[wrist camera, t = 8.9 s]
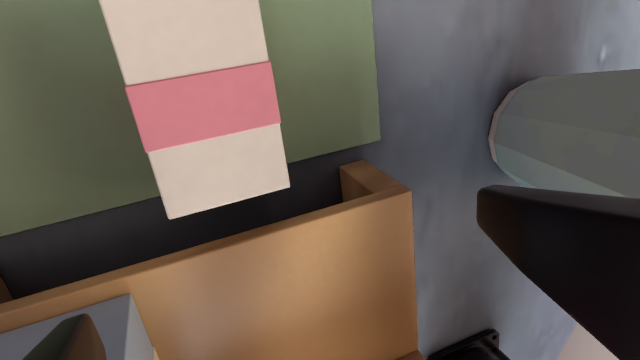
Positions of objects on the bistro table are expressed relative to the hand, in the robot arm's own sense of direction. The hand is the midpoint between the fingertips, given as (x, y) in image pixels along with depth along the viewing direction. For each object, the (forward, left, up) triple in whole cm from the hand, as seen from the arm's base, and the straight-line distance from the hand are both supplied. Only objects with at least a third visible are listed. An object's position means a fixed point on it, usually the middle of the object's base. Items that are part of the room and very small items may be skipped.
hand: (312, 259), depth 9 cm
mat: (+2, -2, -12) cm, 13 cm away
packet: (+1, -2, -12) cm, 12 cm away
